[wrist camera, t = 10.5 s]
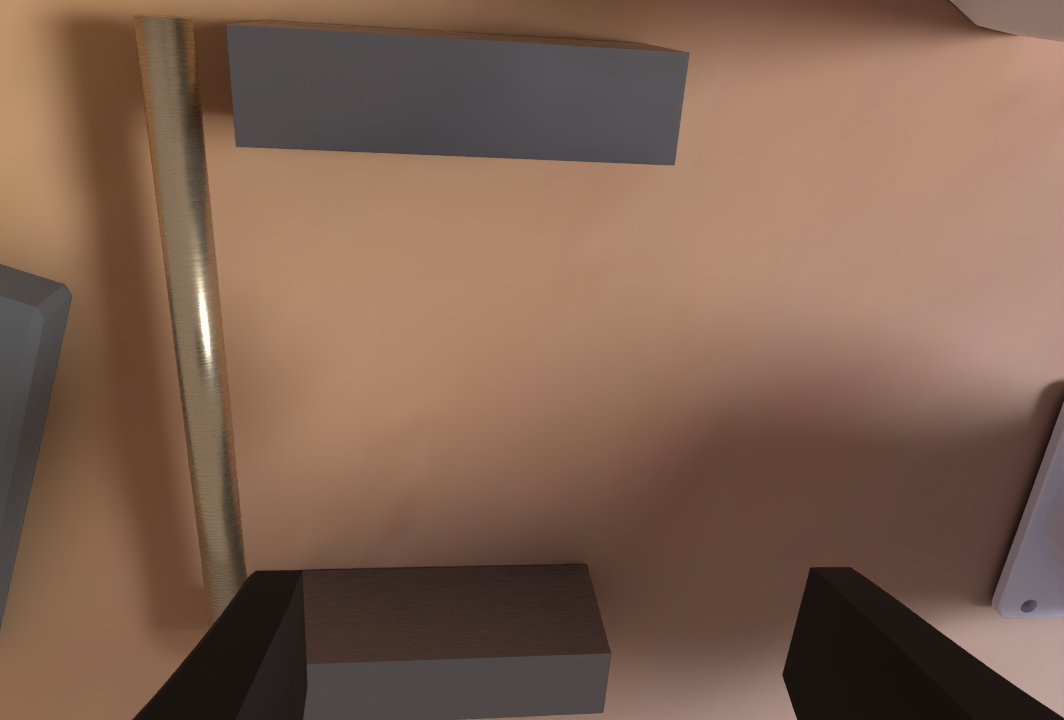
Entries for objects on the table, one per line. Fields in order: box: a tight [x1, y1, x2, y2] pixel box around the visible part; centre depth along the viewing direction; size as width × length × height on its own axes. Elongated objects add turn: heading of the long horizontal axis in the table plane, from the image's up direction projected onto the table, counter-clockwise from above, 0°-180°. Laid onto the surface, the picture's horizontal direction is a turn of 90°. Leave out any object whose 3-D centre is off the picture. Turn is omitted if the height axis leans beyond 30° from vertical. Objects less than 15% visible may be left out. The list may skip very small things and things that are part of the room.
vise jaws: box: [133, 15, 689, 720], centre depth 19 cm, size 10×16×4 cm, turn 176°
